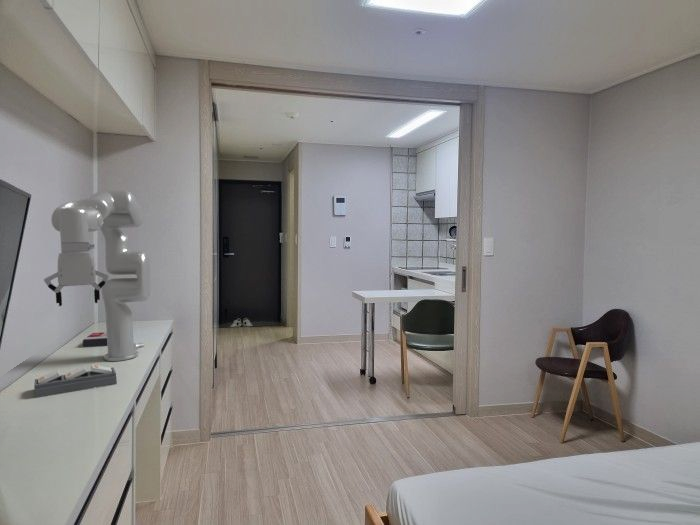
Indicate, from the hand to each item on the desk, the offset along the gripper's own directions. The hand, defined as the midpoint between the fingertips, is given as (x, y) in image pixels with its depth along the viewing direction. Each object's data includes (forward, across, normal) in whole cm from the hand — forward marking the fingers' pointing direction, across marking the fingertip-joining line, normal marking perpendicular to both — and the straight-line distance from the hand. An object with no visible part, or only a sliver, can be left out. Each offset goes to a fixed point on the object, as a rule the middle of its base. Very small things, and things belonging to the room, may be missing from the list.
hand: (78, 304), depth 152 cm
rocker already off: (+24, -6, -11) cm, 27 cm away
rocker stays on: (+24, +9, -10) cm, 28 cm away
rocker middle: (+24, +2, -10) cm, 26 cm away
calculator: (+29, -8, -73) cm, 79 cm away
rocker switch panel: (+29, +2, -10) cm, 31 cm away
